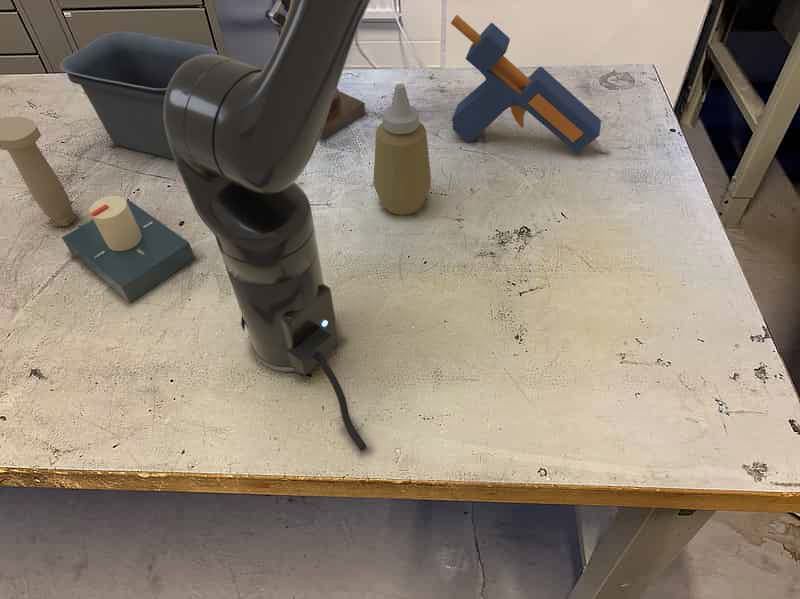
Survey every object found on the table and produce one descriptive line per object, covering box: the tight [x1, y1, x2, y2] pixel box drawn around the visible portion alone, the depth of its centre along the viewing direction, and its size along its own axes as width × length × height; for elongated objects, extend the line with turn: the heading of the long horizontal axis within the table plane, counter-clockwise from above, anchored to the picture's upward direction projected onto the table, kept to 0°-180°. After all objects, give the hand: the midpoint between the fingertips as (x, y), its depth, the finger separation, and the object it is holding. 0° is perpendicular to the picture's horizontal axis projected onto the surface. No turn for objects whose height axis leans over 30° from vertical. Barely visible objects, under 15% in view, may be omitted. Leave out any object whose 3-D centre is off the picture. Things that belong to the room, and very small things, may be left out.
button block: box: [319, 87, 366, 141], centre depth 100 cm, size 12×10×4 cm
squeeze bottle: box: [372, 83, 432, 216], centre depth 79 cm, size 8×8×18 cm
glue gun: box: [450, 14, 607, 154], centre depth 92 cm, size 6×31×15 cm
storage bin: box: [59, 31, 219, 160], centre depth 92 cm, size 21×16×14 cm
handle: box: [0, 116, 77, 228], centre depth 79 cm, size 5×6×15 cm
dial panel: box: [61, 199, 196, 304], centre depth 78 cm, size 14×10×3 cm
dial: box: [89, 195, 142, 251], centre depth 75 cm, size 4×4×6 cm
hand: (310, 60), depth 94 cm, fingers closed
